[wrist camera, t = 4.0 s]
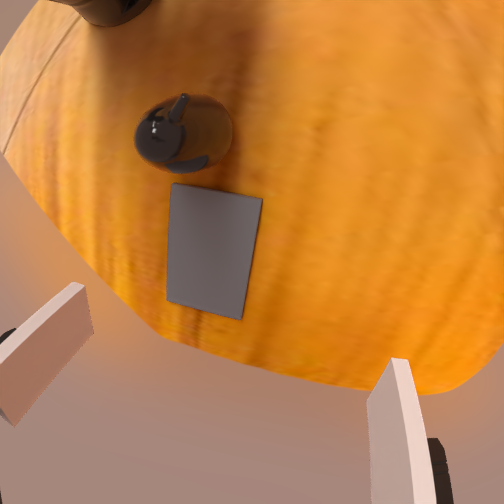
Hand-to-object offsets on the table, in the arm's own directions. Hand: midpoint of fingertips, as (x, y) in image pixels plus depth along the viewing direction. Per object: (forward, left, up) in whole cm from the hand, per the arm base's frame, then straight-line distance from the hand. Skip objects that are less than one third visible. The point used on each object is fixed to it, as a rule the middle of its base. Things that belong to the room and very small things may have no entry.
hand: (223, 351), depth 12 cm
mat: (-10, -12, -32) cm, 35 cm away
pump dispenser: (-13, +6, -32) cm, 35 cm away
